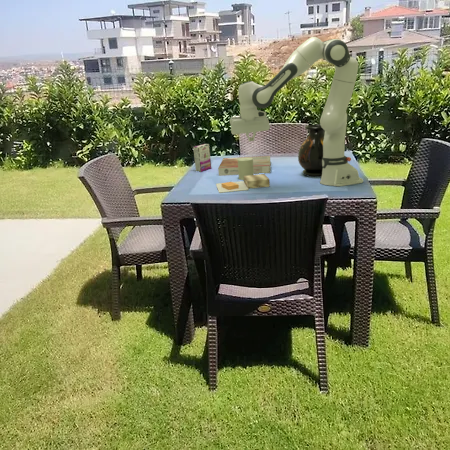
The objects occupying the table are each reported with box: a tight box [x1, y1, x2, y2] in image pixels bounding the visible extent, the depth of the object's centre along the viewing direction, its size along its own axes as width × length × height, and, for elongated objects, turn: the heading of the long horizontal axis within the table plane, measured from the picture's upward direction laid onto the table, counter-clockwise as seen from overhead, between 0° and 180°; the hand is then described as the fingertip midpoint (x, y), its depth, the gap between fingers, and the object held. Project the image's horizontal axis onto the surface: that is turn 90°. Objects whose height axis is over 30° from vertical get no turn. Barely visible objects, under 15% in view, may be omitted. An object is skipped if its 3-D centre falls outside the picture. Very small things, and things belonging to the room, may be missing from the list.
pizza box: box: [217, 155, 271, 177], centre depth 288 cm, size 32×5×32 cm
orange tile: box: [220, 181, 239, 190], centre depth 243 cm, size 6×9×2 cm, turn 26°
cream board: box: [215, 180, 250, 194], centre depth 246 cm, size 16×20×1 cm
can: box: [238, 158, 255, 181], centre depth 262 cm, size 9×9×12 cm
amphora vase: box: [297, 123, 325, 178], centre depth 256 cm, size 22×22×28 cm
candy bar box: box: [193, 143, 212, 173], centre depth 292 cm, size 11×5×16 cm, turn 143°
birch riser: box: [243, 173, 271, 190], centre depth 246 cm, size 12×14×4 cm
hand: (251, 141), depth 234 cm, fingers closed
